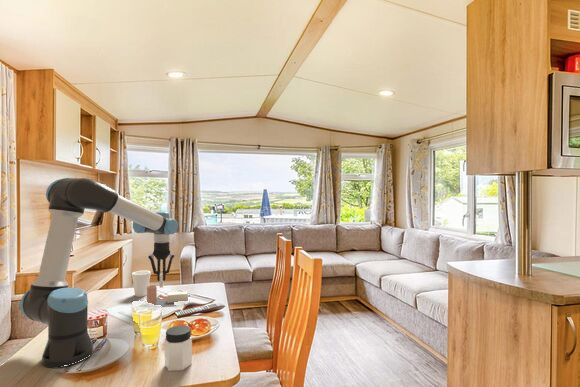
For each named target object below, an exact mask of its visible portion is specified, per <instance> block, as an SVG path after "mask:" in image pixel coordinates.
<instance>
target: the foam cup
mask: <svg viewBox="0 0 580 387" xmlns="http://www.w3.org/2000/svg"><path fill="white" fill-rule="evenodd" d="M151 274H152V273H151V271H150V270H144V269H143V270H137V271H132V273H131V278H132V285H133V290H134V296H135V297H139V298H140V297H141V298H142V297H147V286H150V279H151Z"/></svg>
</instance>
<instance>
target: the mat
mask: <svg viewBox="0 0 580 387" xmlns="http://www.w3.org/2000/svg"><path fill="white" fill-rule="evenodd" d="M188 297H190V298H191V295H189V294H188ZM157 305H161V306H162V307H161V308H169V307H170V308H171V307H173V308H174V307H177V306H176V305H174V302H172V303H167V299H160V298H159V296H157Z"/></svg>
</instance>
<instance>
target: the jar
mask: <svg viewBox="0 0 580 387" xmlns="http://www.w3.org/2000/svg"><path fill="white" fill-rule="evenodd" d="M192 361H193V337H192V328H191V327H190V326H189V325H184V324H183V325H179V324H178V325H175V326H174V325H173V326H170V327H169V328H167V329H166V331H165V338H164V365H165V368H166V369H167V370H168V372H173V371H174V372H175V371H176V372H177V371H179V372H180V371H184V370H185V369H187V368H188V367H189V366H191V365H192V364H193V362H192Z"/></svg>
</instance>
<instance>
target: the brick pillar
mask: <svg viewBox="0 0 580 387" xmlns="http://www.w3.org/2000/svg"><path fill="white" fill-rule="evenodd" d="M157 291H158V290H157V286H156V285H155V284H154V285H149V286H147V295H146V300H147V302H148V303H152V304H154V305H157V298H158V296H157Z"/></svg>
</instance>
